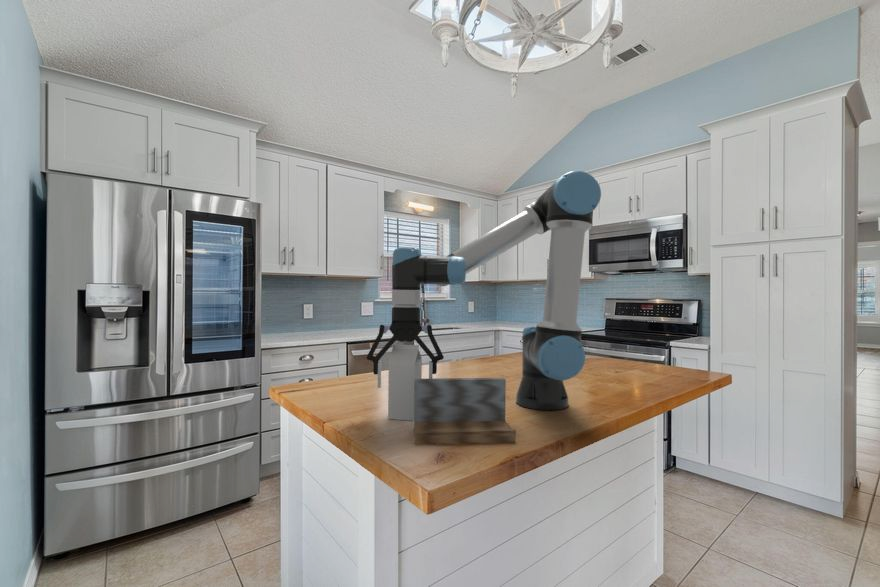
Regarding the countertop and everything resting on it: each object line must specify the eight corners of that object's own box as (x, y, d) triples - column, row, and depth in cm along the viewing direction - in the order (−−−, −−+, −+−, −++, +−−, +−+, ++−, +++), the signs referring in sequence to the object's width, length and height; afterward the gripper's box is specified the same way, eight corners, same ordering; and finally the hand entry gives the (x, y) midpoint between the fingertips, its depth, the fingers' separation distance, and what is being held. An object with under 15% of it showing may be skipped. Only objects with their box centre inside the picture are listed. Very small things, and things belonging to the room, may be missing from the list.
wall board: (503, 426, 101) (503, 377, 101) (515, 442, 90) (516, 387, 90) (413, 428, 99) (414, 378, 99) (415, 445, 88) (416, 389, 88)
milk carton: (414, 421, 105) (415, 346, 105) (387, 419, 106) (388, 346, 106) (421, 413, 112) (422, 343, 112) (396, 411, 113) (396, 342, 113)
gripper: (450, 306, 114) (449, 382, 114) (359, 305, 112) (358, 383, 111) (454, 307, 107) (453, 389, 106) (357, 306, 104) (355, 390, 104)
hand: (405, 386), depth 109 cm, fingers open, 13 cm apart
